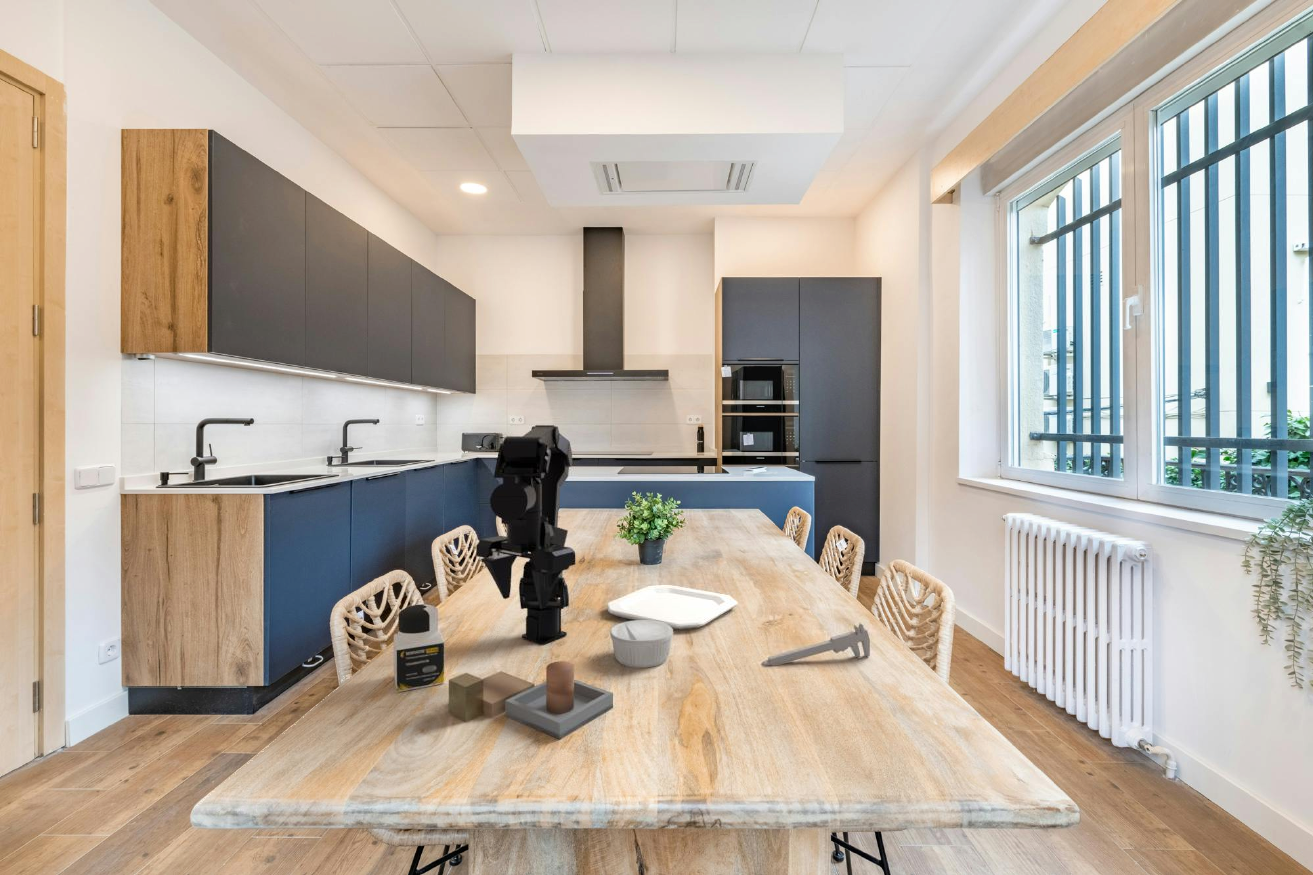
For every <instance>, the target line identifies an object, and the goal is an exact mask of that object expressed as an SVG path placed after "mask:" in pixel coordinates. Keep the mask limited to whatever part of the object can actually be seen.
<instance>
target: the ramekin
mask: <svg viewBox="0 0 1313 875" xmlns="http://www.w3.org/2000/svg"><path fill="white" fill-rule="evenodd" d="M673 636H674V629H672V628H671V627H670V626H669V625H668V624H665V623H663V622H658V621H652V620H628V621H624V622H620V623H618V624H616V625H614V626H613V627H612V628H611V629H610V638H611V641H612V645H613V651H614V656H615V658H616V660H617V661H618V662H619V664H621V665H623V666H625V667H629V668H636V669H646V668H647V669H648V668H653V667H657V666H659V665H662V664H663V663H664V662H665V661H666V660H667V659H668V658H669V655H670V650H671V645H672V639H673Z"/></svg>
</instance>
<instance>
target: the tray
mask: <svg viewBox="0 0 1313 875" xmlns="http://www.w3.org/2000/svg"><path fill="white" fill-rule="evenodd" d="M612 709H614V692H611V691H609V690H605V689H603V688H599V687H597V686H594V685H591V684H588V683H586V682H583V681H580V680H577V679H574V708H573V709H572V710H571V711H570V712H567V713H564V714H552V713H550V712H548V711H547V710H546V680H545V681H543V682H541V683H538V685H535V687H533V688H531V689H529V690H526V691H524V692H522V693H520V694H518V695H516V696H514V697H512V698H510V699H507V700H505V712H504V713H505V714H504V716H505V717H507V718H509V719H511V720H514V721H516V722H519V723H521V724H523V725H526V726H528V727H530V728H532V729H535V730H537V731H539V732H542V733H544V734H546V735H548V736H551V737H553V738H555V739H557V740H561V739H563V738H565V737H567V736H568V735H570V734H572V733H573V732H576V730H578V729H580V728H581V727H583V726H585V725H586V724H588V723H590V722H591V721H593V720H595V719H597V718H598V717H600V716H602V715H604V713H607V712H608V711H610V710H612Z"/></svg>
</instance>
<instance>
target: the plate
mask: <svg viewBox="0 0 1313 875" xmlns="http://www.w3.org/2000/svg"><path fill="white" fill-rule="evenodd" d="M738 604H739V603H738V601H737V600H736V599H734V598H733V597H732V596H731V595H729V594H723V593H717V592H713V591H712V592H710V591H707V590H699V589H695V588H688V587H683V586H677V585H671V584H659V585H649V586H646V587H643V588H641V589H638V590H635V591H633V592H631V593H628V594H627V595H624V596H622V597H618V598H616V599H614V600H611V601H609V602H607V603H606V604H605V606H606V608H607V611H608V613H609V614H612V615H614V616H616V617H620V618H622V619H627V620H629V621H635V620H652V621H658V622H663V623H665V624H668V625H669V626H670V627H671V628H672V629H673V630H690V629H697V628H701V627H703V626H705V625H706V624H708V623H709V622H711V621H713V620H715V619H716V618H718V617H720V616H721V615H723V614H724V613H726V612H728V611H730V610H731V609H733V608H734V607H736V606H738Z"/></svg>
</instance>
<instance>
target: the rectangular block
mask: <svg viewBox="0 0 1313 875" xmlns="http://www.w3.org/2000/svg"><path fill="white" fill-rule="evenodd" d="M448 714H449V716H452V717H454V718H456V719H459V720H461V721H462V722H465V723H467V722H469V721H472V720H474V719H476V718H478V717H479V716H482V715H484V714H483V678H480V677H478V676H475V675H473V674H471V673H469V672H465V673H463V674H460V675H457V676H455V677H452V678H450V679H448Z"/></svg>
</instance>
